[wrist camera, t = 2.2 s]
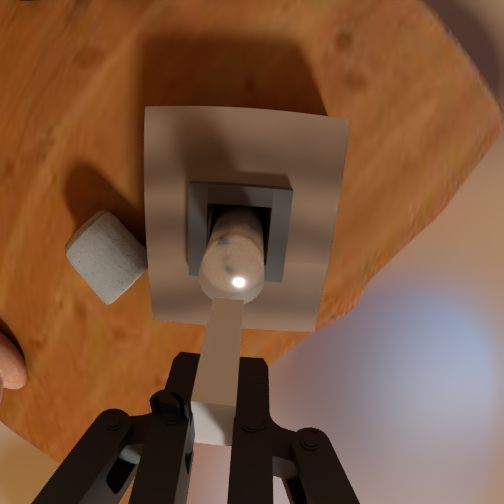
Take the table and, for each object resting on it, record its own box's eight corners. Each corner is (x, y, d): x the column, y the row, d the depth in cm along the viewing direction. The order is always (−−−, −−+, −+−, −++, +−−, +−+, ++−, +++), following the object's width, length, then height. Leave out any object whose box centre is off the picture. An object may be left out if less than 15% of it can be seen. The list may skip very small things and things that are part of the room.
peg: (215, 204, 26) (198, 245, 19) (264, 207, 26) (267, 250, 19) (214, 248, 28) (198, 303, 20) (260, 252, 28) (261, 308, 20)
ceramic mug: (114, 197, 34) (81, 220, 27) (162, 248, 36) (141, 282, 29) (68, 250, 37) (37, 280, 30) (111, 294, 40) (87, 330, 33)
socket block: (170, 106, 30) (140, 106, 22) (328, 117, 30) (353, 120, 22) (171, 280, 38) (150, 325, 30) (304, 290, 38) (315, 338, 30)
